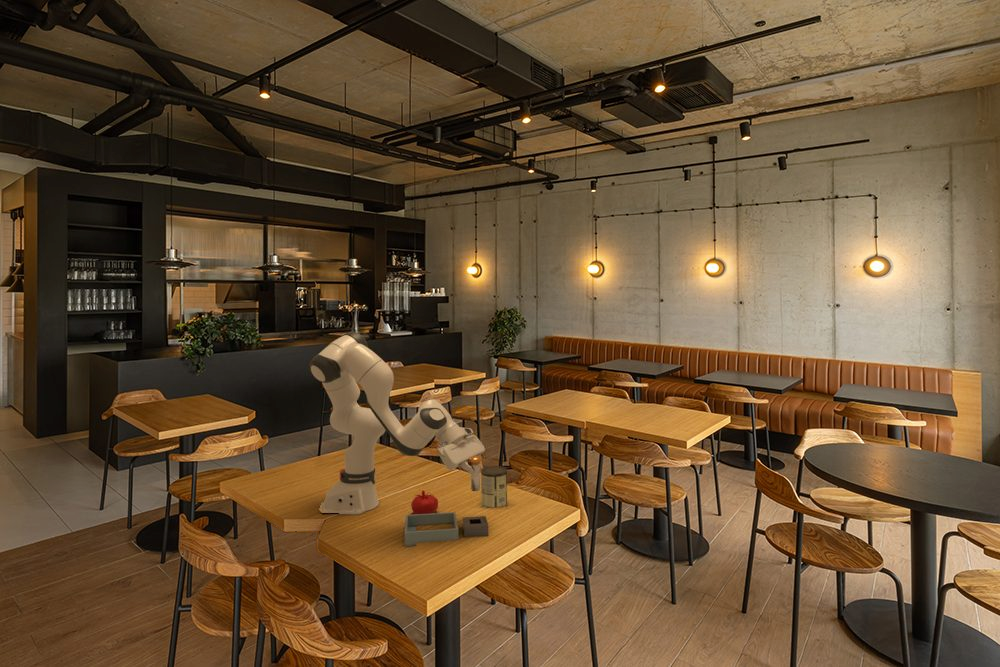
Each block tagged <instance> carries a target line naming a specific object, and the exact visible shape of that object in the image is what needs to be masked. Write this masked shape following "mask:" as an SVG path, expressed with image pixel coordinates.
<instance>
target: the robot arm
mask: <svg viewBox="0 0 1000 667" xmlns="http://www.w3.org/2000/svg"><path fill="white" fill-rule="evenodd" d="M368 346H369V345H368V342H367V341H366V338H365V337H364V336H363V335H362V334H361V333H359V332H357V331H354V330H353V331H349V332H346V333H344V334H343V335H342V336H341V337H338V338H337V339H334V341H332V342H330V343H329V344H328V345H327V346H325V348H324V349H322V351H320V352H319V353H318V354H316V355H315V356H314V357H313V358H312V359H311V360H310V362H309V371H310V372H311V375H313V377H314V378H315V379H316V380H317V381H318V382H320V383H322V385H323V387H324V390H325V391H326V393H327V395H328V398H329V399H330V402H331V404H332V409H333V410H332V411H331V413H330V417H329V423H330V426H331V427H332V429H333V430H336V431H337V432H340V433H341V434H347V435H352V436H353V441H352V443H351V445H350V446H348V447H347V448H346V450H345V451H344V468H341V469H339V470H340V471H339V481H337V482H336V483H335V484H334V485H332V486H331V487H330V488H329V489H328V490H327V492H326V495H325V499H324V500H325V502H323V501H322V502H323V503H322V502H321V503H320V504H321V505H320V504H319V506H320V508H319V507H318V511H319V510H320V509H321V508H322V509H323V508H324V509H323V510H320V511H321V512H327V513H339V514H338V515H361V514H363V513H365V512H367V511H370V510H373V509H375V508H376V507H378V506H379V504H380V501H379V498H378V495H377V490H376V489H377V488H376V482H377V476H376V475H377V474H376V468H375V450H376V445H377V443H378V441H379V439H380V437H381V436H383V435H384V434H385V432H387V434H388V436H389V437H390V438H391V440H392V442H393V443H394V445H395V448H396V449H397V450H398V451H399V453H400V454H402V455H404V456H407V457H415V456H419V455H420V453H421V452H422V451H423V450H424V449H425V447H426V446H427V445H428V444H429V443H430V441H432V439H433V438H434V437H435V438H436V441H437V442H438V445H437V453H438V454H439V457H440V459H441V461H442V463H443V465H444V467H446V469H448V470H449V471H453V470H454V469H457V468H458V467H461V468H462V469H463V470H465V471H467V472H468V474H469V475H471V474H473V473H474V472H475V471H476V470H475V469H474V467H471V464H470V465H469V463H470V462H469V458H470V457H472V456H481V455H483V454H484V452H485V451H486V449H485V446H484V444H483V443H482V442H481V441H480V439H479V438H478V436H476V435H475V434H474V431H473V429H472V428H470V427H469V428H468V427H462V426H461V427H460V426H459V424H458V423H457V422H455V421H454V419H453V418H452V415H451V414H450V412H448V410H447V409H446V408H445V407H444V406H443V405H442V404H441V403H440V402H439V401H438V400H437V399H434V398H433V399H428V400H425V401H424V402H422V403H421V404H420V405H419V407H418V410H417V411H418V412H417V413H415V415H414V416H413V417H412V418H411V420H409V422H408V423H406V424H405V425H404V426H403V425H402V424H401V422H400V421H399V420H398V418H397V417H396V415H395V414H394V412H392V409H391V408H390V404H389V400H390V395H391V392H392V389H393V386H394V382H395V379H394V378H395V377H394V372H393V370H392V368H391V367H390V366H389V365H388V364H387V363H386V362H385V361H384V360H383V358H381V357H380V356H379V355H378V354H376V353H375V352H374V351H373V350H372V349H370V348H369V347H368ZM357 383H358V384H359V385H358V384H357ZM359 386H361V388H362V389H363V391H364V393H365V396H366V404H367V407H363V406H361V405H359V403H358V402H357V401H358V400H359V398H360V394H361V390H360V388H359ZM482 468H483V465H482V464H481V463H480V470H481V469H482Z"/></svg>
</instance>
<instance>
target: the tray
mask: <svg viewBox="0 0 1000 667" xmlns="http://www.w3.org/2000/svg"><path fill="white" fill-rule="evenodd" d="M404 519H405V520H404V521H405V522H404V547H414V546H415V545H416V546H417V543H418V544H419V543H431V542H442V541H457V540H459V526H458V520H457V519H458V518H457V514H456V511H452V512H451V511H449V512H435V513H432V514H416V515H414V514H406V515H405V518H404ZM452 523H453V528H444V529H429V530H428V529H427V530H426V529H425V530H417V529H418V528H417V527H418V526H425V525H440V524H441V525H442V524H452ZM413 545H414V546H413Z"/></svg>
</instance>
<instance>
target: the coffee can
mask: <svg viewBox="0 0 1000 667" xmlns="http://www.w3.org/2000/svg"><path fill="white" fill-rule="evenodd" d="M507 473H508V468H506V467H504V466H499V465H489V466H488V465H487V466H485V467H482V468H481V469H480V490H481V492H480V493H481V508H483V509H492V508H493V509H494V508H506V507H507V506H508V474H507Z"/></svg>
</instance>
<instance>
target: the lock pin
mask: <svg viewBox="0 0 1000 667" xmlns="http://www.w3.org/2000/svg"><path fill="white" fill-rule="evenodd" d="M482 462H483V457H482V456H481V455H480V456H472V457H470V458H469V462H468V463H470V466H471V467H474V469H475V470H476V471H475V472H474V473H473V474H470V489H471V491H473V492H479V491H480V490H481V469H480V464H481V463H482Z"/></svg>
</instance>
